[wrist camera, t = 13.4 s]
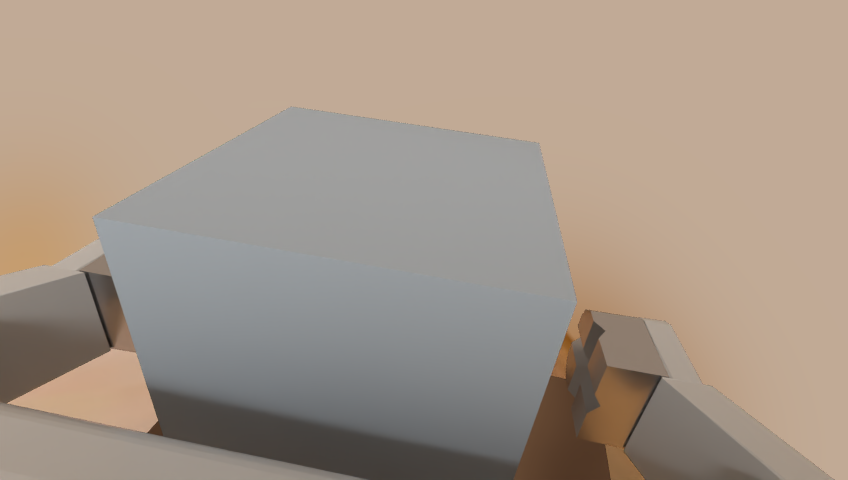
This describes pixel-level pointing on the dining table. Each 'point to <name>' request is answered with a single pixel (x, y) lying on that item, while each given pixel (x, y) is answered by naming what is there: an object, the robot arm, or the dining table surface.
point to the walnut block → (551, 442)
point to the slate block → (348, 296)
